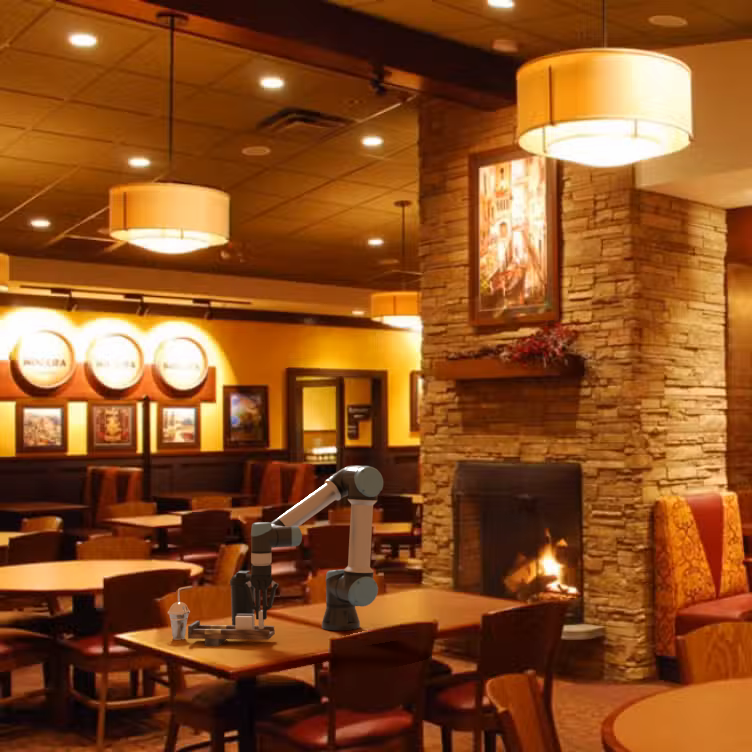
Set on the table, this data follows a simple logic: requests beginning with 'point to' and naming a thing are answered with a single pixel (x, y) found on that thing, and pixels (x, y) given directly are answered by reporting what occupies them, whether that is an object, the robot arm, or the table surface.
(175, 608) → the cup with straw
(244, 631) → the brown wooden tray
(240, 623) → the rider
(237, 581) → the water bottle
